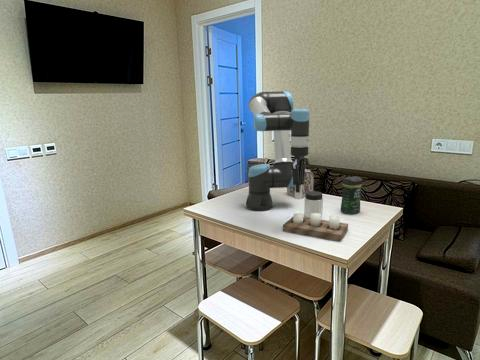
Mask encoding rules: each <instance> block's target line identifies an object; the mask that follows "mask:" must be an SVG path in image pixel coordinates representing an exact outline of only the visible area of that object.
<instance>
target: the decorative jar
mask: <svg viewBox="0 0 480 360" xmlns="http://www.w3.org/2000/svg"><path fill="white" fill-rule="evenodd" d="M314 175H315V174H314V173H313V172H312V170H311V169H307V168H305V177H304V182H303V183H304V184H302V199H303V198H304V199H305V196H306V192H309V191H314V177H315V176H314ZM286 195H288V196H291V197H292V198H293V197H294V198H295V186H294V187H288V188H286Z"/></svg>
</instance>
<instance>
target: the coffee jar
mask: <svg viewBox="0 0 480 360" xmlns="http://www.w3.org/2000/svg"><path fill="white" fill-rule="evenodd" d="M341 185H342V194H341V196H342V197H341V202H340V211H341V212H342V213H343V214H349V215H353V214H357V213H360V212H361V190H362V186H363V179H362V177H360V176H356V175H354V176H348V177H344V178H343V179H342V184H341Z"/></svg>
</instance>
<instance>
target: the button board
mask: <svg viewBox="0 0 480 360" xmlns="http://www.w3.org/2000/svg"><path fill="white" fill-rule="evenodd" d="M310 221H311V218H308V217H305V216H303V224H297V223H293V216H292V217H290V218H289V219H288V220H287V221H286V222H285V223H283V224H282V232H286V233H291V234H296V235H301V236H306V237H312V238H318V239H323V240H328V241H333V242H334V241H335V242H337V243H338V242H339V243H341V242H342V240H343V238H344V237H345V236H346V234H347V232H348V230H349V223H348V222H347V223H345V222H340V223H339V230H332V229H329V220H326V219H321V226H320V227H314V226H311V225H310Z"/></svg>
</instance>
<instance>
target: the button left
mask: <svg viewBox="0 0 480 360" xmlns="http://www.w3.org/2000/svg"><path fill="white" fill-rule="evenodd" d="M292 217H293V223H297V224H303V217H304V214H302V213H293V216H292Z"/></svg>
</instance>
